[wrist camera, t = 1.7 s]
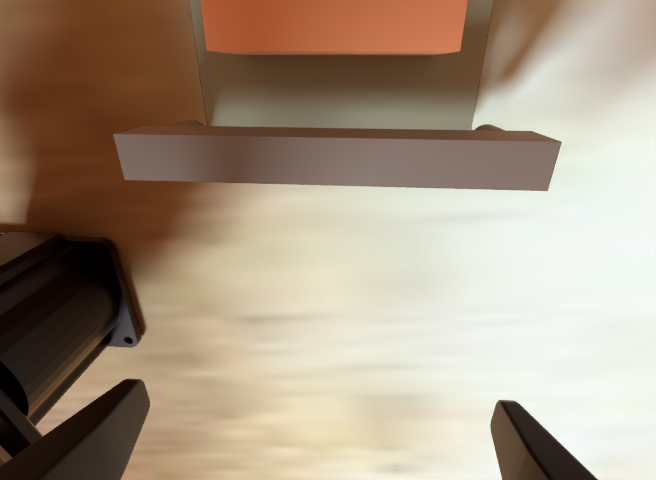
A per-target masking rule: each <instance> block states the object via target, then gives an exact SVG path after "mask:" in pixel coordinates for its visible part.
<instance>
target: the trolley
mask: <svg viewBox="0 0 656 480" xmlns="http://www.w3.org/2000/svg"><path fill="white" fill-rule="evenodd" d="M189 3H190V10H191V17H192V24H193V31H194V38H195V45H196V52H197V60H198V67H199V74H200V81H201V88H202V95H203V102H204V109H205V116H206V123H207V126H203V125H202V124H201V123H200V122H198V121H195V120H189V121H185V122H182V123H179V124H176V125H145V126H141V127H137V128H134V129H130V130H126V131H122V132H119V133H115V134H113V136H114V140H115V144H116V148H117V152H118V156H119V160H120V164H121V168H122V171H123V175H124V179H125V180H146V181H184V182H223V183H261V184H300V185H338V186H377V187H415V188H454V189H492V190H531V191H548V188H549V184H550V181H551V177H552V174H553V170H554V167H555V164H556V160H557V157H558V153H559V150H560V146H561V143H562V142H561V141H558V140H555V139H552V138H549V137H546V136H544V135H541V134H538V133H535V132H532V131H505V130H502V129H500V128H498V127H495V126H493V125H488V124H486V125H482V126H479V127H478V128H476V129H475V130H471V127H472V122H473V116H474V110H475V105H476V99H477V93H478V88H479V82H480V76H481V71H482V65H483V59H484V54H485V48H486V42H487V37H488V31H489V25H490V20H491V14H492V9H493V3H494V0H189Z"/></svg>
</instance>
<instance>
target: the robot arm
mask: <svg viewBox="0 0 656 480" xmlns="http://www.w3.org/2000/svg"><path fill="white" fill-rule="evenodd" d="M101 247H102V248H103V249H104V250H105V251H103V250H102V249H101ZM140 340H141V333H140V330H139V326H138V323H137V320H136V316H135V313H134V309H133V306H132V303H131V299H130V296H129V292H128V289H127V286H126V282H125V279H124V275H123V272H122V268H121V265H120V262H119V258H118V255H117V251H116V248H115V246H114V244H113V243H112V242H111V241H109V240H108V239H104V238H85V237H65V236H63V235H61V234H58V233H35V232H9V233H7V234H5V235H3V234H0V480H120V479H121V477H122V475H123V473H124V471H125V469H126V466H127V464H128V462H129V459H130V457H131V454H132V451H133V449H134V446H135V444H136V441H137V439H138V436H139V434H140V431H141V429H142V426H143V424H144V421H145V419H146V416H147V414H148V411H149V408H150V400H149V396H148V393H147V390H146V387H145V384H144V382H143V381H142V380H140V379H126V380H123V381H122V382H120V383H119V384H117V385H116V386H115V387H113V388H112V389H110V390H109V391H107V392H106V393H105V394H103V395H102V396H100V397H99V398H97V399H96V400H95V401H93V402H92V403H90V404H89V405H87V406H86V407H85V408H83V409H82V410H80V411H79V412H77V413H76V414H75V415H73V416H72V417H70V418H69V419H67V420H66V421H65V422H63V423H62V424H60V425H59V426H57V427H56V428H54V429H53V430H52V431H50V432H49V433H47V434H46V435H44V436H43V435H42V434H41V433H40V432H39V431H38V429H37V428H36V427H35V426H36V425H37V423H38V422H39V421H40V420H41V419H42V418H43V417H44V416H45V415H46V413H47V412H48V411H49V410H50V409H51V408H52V407H53V406H54V405H55V403H56V402H57V401H58V400H59V399H60V398H61V397H62V396H63V395H64V393H65V392H66V391H67V390H68V389H69V388H70V387H71V386H72V385H73V383H74V382H75V381H76V380H77V379H78V378H79V377H80V376H81V375H82V373H83V372H84V371H85V370H86V369H87V368H88V367H89V366H90V365H91V363H92V362H93V361H94V360H95V359H96V358H97V357H98V356H99V355H100V353H101V352H102V351H103V350H104V349H105V348H106V347H107V346H115V347H135V346H136V345H137V344H138V343H139V342H140ZM491 434H492V438H493V442H494V446H495V450H496V455H497V459H498V463H499V467H500V472H501V476H502V480H598V479H597V478H596V477H595V476H594V475H593V474H591V473H590V472H589V471H588V470H587V469H586V468H585V467H584V466H583V465H582V464H581V463H580V462H579V461H578V460H577V459H576V458H575V457H574V456H573V455H572V454H571V453H570V452H569V451H568V450H567V449H566V448H565V447H563V446H562V445H561V444H560V443H559V442H558V441H557V440H556V439H555V438H554V437H553V436H552V435H551V434H550V433H549V432H548V431H547V430H546V429H545V428H544V427H543V426H542V425H541V424H540V423H539V422H538V421H537V420H535V419H534V418H533V417H532V416H531V415H530V414H529V413H528V412H527V411H526V410H525V409H524V408H523V407H522V406H521V405H520V404H519V403H517V402H516V401H510V400H499V401H498V402H497V403H496V406H495V410H494V413H493V416H492V420H491Z"/></svg>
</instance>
